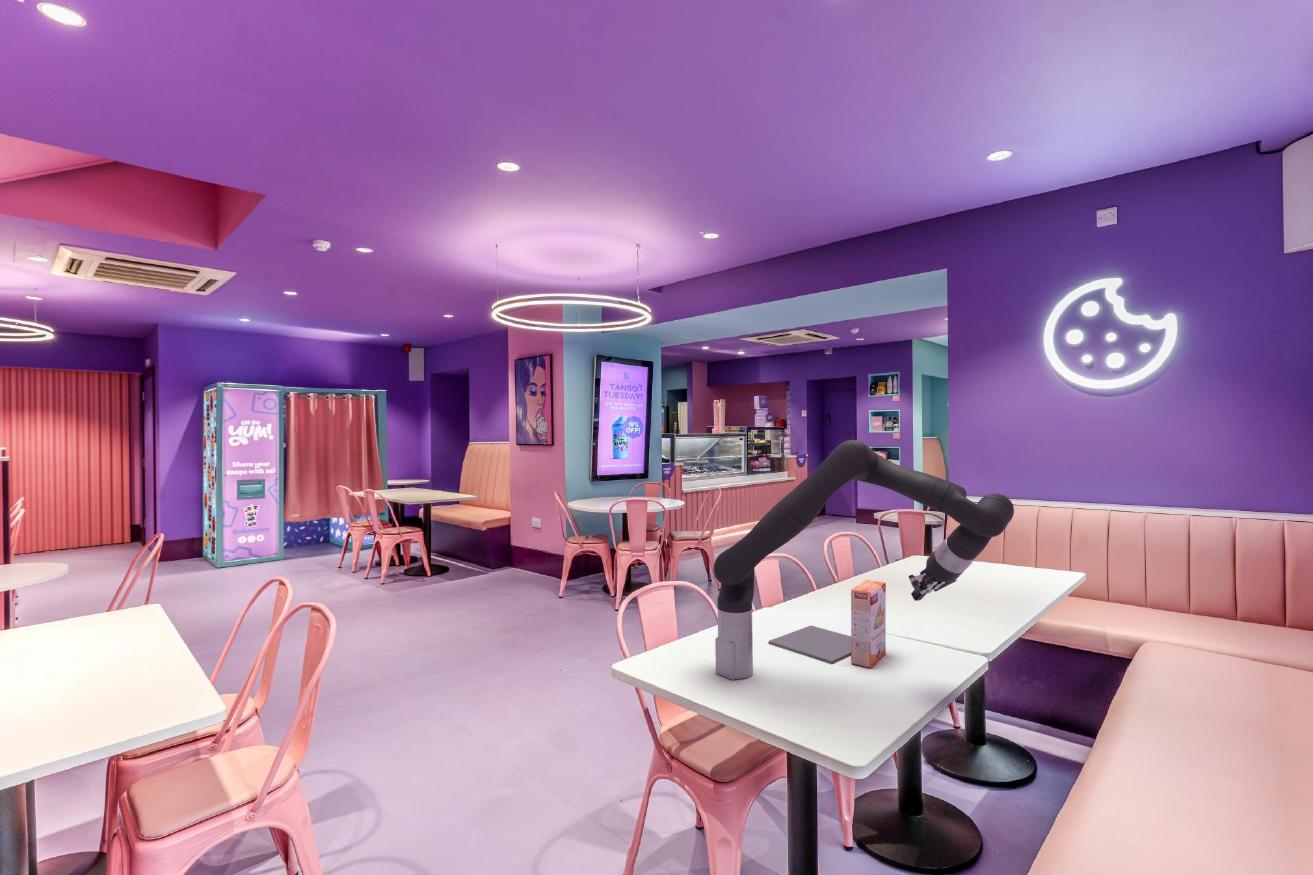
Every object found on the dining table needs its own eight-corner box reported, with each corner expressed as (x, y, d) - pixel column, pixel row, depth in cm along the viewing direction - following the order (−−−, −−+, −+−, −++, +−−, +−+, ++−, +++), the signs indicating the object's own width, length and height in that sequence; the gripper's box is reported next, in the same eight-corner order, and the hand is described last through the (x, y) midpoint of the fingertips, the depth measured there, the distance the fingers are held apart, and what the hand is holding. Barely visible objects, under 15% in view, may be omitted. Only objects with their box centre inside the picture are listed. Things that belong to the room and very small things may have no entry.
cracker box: (872, 669, 158) (871, 591, 158) (850, 664, 162) (849, 588, 162) (887, 653, 169) (886, 581, 169) (866, 649, 173) (865, 578, 173)
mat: (831, 663, 162) (831, 661, 162) (768, 643, 179) (768, 640, 179) (873, 644, 176) (872, 642, 176) (810, 627, 193) (810, 625, 193)
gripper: (965, 543, 141) (929, 582, 153) (919, 546, 138) (886, 586, 150) (983, 570, 136) (944, 608, 148) (935, 574, 133) (900, 613, 144)
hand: (915, 597), depth 149 cm, fingers closed
